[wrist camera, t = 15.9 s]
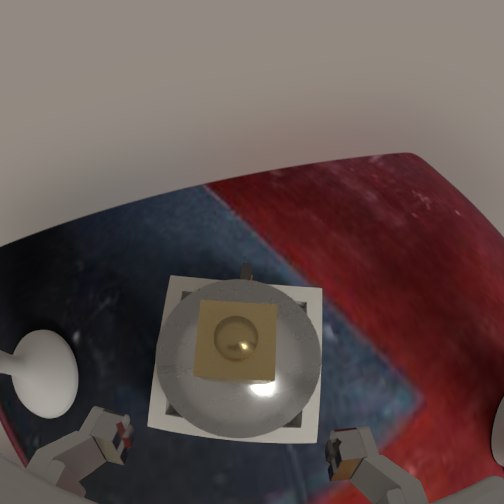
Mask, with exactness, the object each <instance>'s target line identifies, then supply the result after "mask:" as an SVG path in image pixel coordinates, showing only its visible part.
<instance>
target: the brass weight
mask: <svg viewBox="0 0 504 504" xmlns="http://www.w3.org/2000/svg"><path fill="white" fill-rule="evenodd" d="M276 331H277V304H260V303H242V302H226V301H212V300H201V301H200V310H199V319H198V328H197V338H196V348H195V359H194V370H193V375H194V376H196V377H199V378H201V379H204V380H206V381H209V382H217V383H230V384H246V385H267V384H269V383H271V382H273V381H275V364H276Z"/></svg>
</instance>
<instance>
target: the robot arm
mask: <svg viewBox="0 0 504 504" xmlns="http://www.w3.org/2000/svg"><path fill="white" fill-rule="evenodd" d="M129 421H130V419H129V416H128V415H126V414H122V413H118V412H115V411H111V410H107V409H104V408H100V407H97V406H95V407H93V408H92V410H91V411H90V413H89V415H88V417H87V418H86V420H85V422H84V423H83V425H82V427H81V429H80V430H79V432H78V431H75V432H73V433H71V434H69V435H67V436H65V437H63V438H61V439H59V440H57V441H55V442H52V443H50V444H48V445H46V446H44V447H42V448H40V449H38V450H37V451H36V453H35V454H34V456H33V458H32V459H31V461H30V463H29V464H28V466H27V468H26V469H24V468H22V467H20V466H19V465H17V464H16V463H14V462H12V461H11V460H9V459H8V458H6V457H5V456H3V455H2V454H0V504H99V503H96V502H93V501H91V500H88V499H86V498H84V496H85V493H86V491H85V489H84V488H83V487H82V485H81V484H80V483H79V482H78V481H80V480H81V479H82V478H84V477H85V476H87V475H88V474H89V473H91V472H92V471H94V470H95V469H96V468H98V467H99V466H100V465H102V464H103V463H104V462H106V460H107V461H111V462H114V463H118V464H122V465H124V464H125V461H126V459H127V456H128V451H127V448H129V447H131V446H132V443H133V440H134V430H133V427H132V426H131V425H130V424H129ZM330 438H331V439H330V440H328V441H327V444H326V448H325V457H326V461H327V462H328V463H329V464H330V466H329V468H328V473H329V478H330V482H332V481H342V480H350V481H351V482H352V483H353V484H354V485H355V486H356V487H357V488H358V489H359V490H360V491H361V492H362V493H363V494H364V495H365V496H366V497H367V498H368V499H369V500H370V501H371V502H372V503H373V504H504V479H503V478H501V477H498V476H496V475H492V476H489V477H487V478H485V479H483V480H481V481H479V482H477V483H475V484H473V485H471V486H469V487H467V488H465V489H463V490H460V491H458V492H456V493H454V494H451V495H449V496H447V497H444V498H442V499H439V500H437V501H434V502H432V503H428V500H427V497H426V495H425V492H424V489H423V487H422V484H421V482H420V481H419V480H418V479H416V478H415V477H413V476H412V475H410V474H409V473H408V472H406V471H405V470H403V469H402V468H400V467H399V466H398V465H396V464H395V463H393V462H392V461H391V460H389V459H388V458H386V457H385V456H384V455H379V452H378V450H377V447H376V444H375V441H374V438H373V436H372V433H371V430H370V428H369V427H368V426H365V427H358V428H346V429H337V430H332V431H331V434H330ZM492 452H493V456H494V459H495V460H496V462H497V463H498V464H500V465H501V466H503V467H504V397H503V399H502V401H501V403H500V405H499V408H498V410H497V413H496V416H495V420H494V425H493V430H492Z"/></svg>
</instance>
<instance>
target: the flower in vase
mask: <svg viewBox="0 0 504 504" xmlns="http://www.w3.org/2000/svg"><path fill="white" fill-rule="evenodd" d="M0 373H6V374H9V375H12V381H13V384H14V388H15V390H16V393H17V395H18V397H19V398H20V400H21V401H22V403H23V404H24V405H25V406H26V407H27V408H28V409H29V410H30V411H32V412H33V413H35V414H36V415H38V416H41V417H44V418H56V417H59V416H61V415H62V414H64V413H65V412H66V411H67V410H68V409H69V408H70V407H71V405H72V403H73V401H74V399H75V396H76V393H77V388H78V368H77V364H76V360H75V357H74V354H73V352H72V350H71V348H70V346H69V345H68V344H67V342H66V341H65V340H64V339H63V338H62V337H61V336H60V335H58V334H57V333H55V332H53V331H50V330H37V331H33V332H31V333H29V334H27V335H26V336H25V337H24V338H23V339H22V340H21V341H20V342H19V344H18V346H17V347H16V349H15V351H14V354H13V355H10V354H7V353H5V352H3V351H1V350H0Z"/></svg>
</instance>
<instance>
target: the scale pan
mask: <svg viewBox="0 0 504 504" xmlns="http://www.w3.org/2000/svg"><path fill="white" fill-rule="evenodd" d="M251 274H252V268H251V264H248V263H243V267H241V274H240V279H233V280H224V281H219V282H215V283H212V284H209V285H206V286H204V287H202V288H199V289H197V290H196V291H194V292H192V293H191V294H189V295H188V296H187V297H185V298H184V299H183V300H182V301H181V302H180V303H179V304H178V305H177V306H176V307H175V308H174V309H173V310H172V312H171V313H170V314H169V316H168V317H167V319H166V321H165V323H164V325H163V327H162V329H161V332H160V334H159V338H158V342H157V347H156V369H157V375H158V379H159V382H160V385H161V388H162V390H163V392H164V394H165V396H166V398H167V399H168V401H169V402H170V404H171V405H172V406H173V408H174V409H175V410H176V411H177V412H178V413H179V414H180V415H181V416H182V417H183V418H184V419H186V420H187V421H188V422H189V423H191V424H193V425H194V426H196V427H197V428H199V429H201V430H203V431H206V432H208V433H211V434H214V435H217V436H222V437H228V438H250V437H256V436H260V435H264V434H267V433H270V432H272V431H275V430H277V429H278V428H280V427H282V426H284V425H285V424H287V423H288V422H290V421H291V420H292V419H294V418H295V417H296V416H297V415H298V414H299V413H300V412H301V411H302V410H303V408H304V407H305V406H306V404H307V403H308V402H309V400H310V398H311V396H312V395H313V393H314V391H315V388H316V385H317V383H318V379H319V375H320V369H321V349H320V343H319V339H318V336H317V333H316V330H315V328H314V326H313V324H312V322H311V320H310V319H309V317H308V315H307V314H306V313H305V311H304V310H303V309H302V308H301V307H300V305H299V304H297V303H296V302H295V301H294V300H293V299H292V298H291V297H289V296H288V295H287V294H285V293H284V292H282V291H280V290H278V289H277V288H275V287H272V286H270V285H267V284H265V283H261V282H257V281H252V277H253V275H251ZM201 300H212V301H226V302H242V303H260V304H277V331H276V364H275V381H273V382H271V383H269V384H267V385H246V384H230V383H217V382H209V381H206V380H204V379H201V378H199V377H196V376H194V375H193V370H194V359H195V348H196V338H197V328H198V319H199V310H200V301H201Z"/></svg>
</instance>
